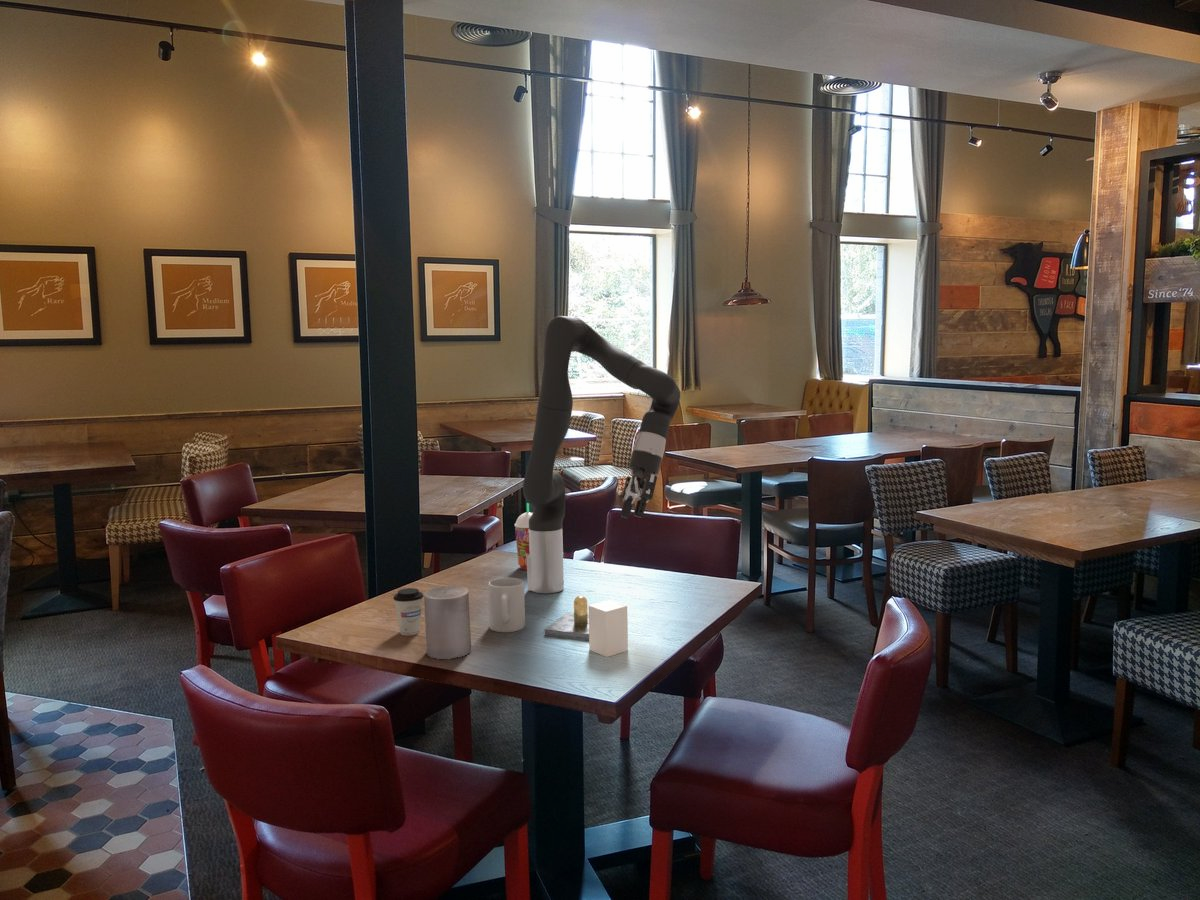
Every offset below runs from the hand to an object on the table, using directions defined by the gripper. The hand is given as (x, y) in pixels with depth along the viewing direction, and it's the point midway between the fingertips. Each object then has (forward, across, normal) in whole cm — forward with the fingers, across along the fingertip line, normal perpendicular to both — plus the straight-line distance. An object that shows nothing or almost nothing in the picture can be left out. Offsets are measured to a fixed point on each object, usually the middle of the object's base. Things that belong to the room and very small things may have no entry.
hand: (631, 517), depth 203 cm
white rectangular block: (+31, +13, -2) cm, 34 cm away
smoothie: (+16, -62, -4) cm, 64 cm away
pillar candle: (+41, 0, -33) cm, 53 cm away
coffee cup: (+40, -17, -40) cm, 59 cm away
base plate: (+29, -2, -4) cm, 29 cm away
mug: (+34, -10, -20) cm, 40 cm away
